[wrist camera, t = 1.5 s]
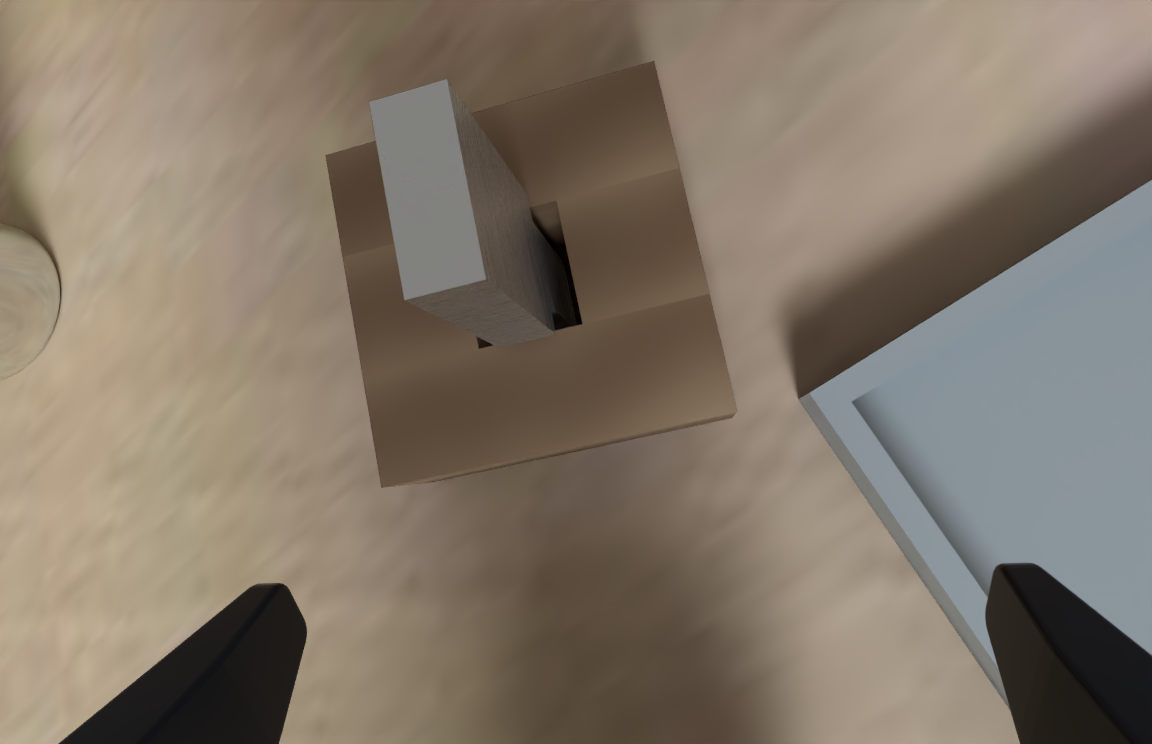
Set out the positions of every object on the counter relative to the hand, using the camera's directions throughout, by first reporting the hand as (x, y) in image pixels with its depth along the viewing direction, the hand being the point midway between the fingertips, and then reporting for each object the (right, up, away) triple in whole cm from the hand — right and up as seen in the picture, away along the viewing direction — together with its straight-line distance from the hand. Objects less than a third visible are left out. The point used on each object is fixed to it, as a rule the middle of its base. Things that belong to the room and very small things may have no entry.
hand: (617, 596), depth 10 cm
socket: (-2, +5, +15) cm, 16 cm away
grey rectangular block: (-2, +5, +15) cm, 16 cm away
